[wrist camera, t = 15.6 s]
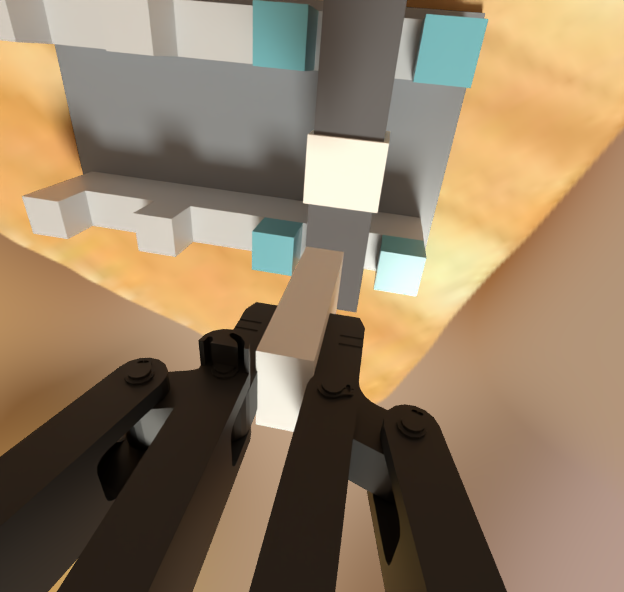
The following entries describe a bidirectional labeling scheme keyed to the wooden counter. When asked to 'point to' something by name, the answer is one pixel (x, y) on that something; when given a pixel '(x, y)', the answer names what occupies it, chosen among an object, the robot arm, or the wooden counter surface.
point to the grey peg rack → (235, 124)
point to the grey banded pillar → (351, 130)
